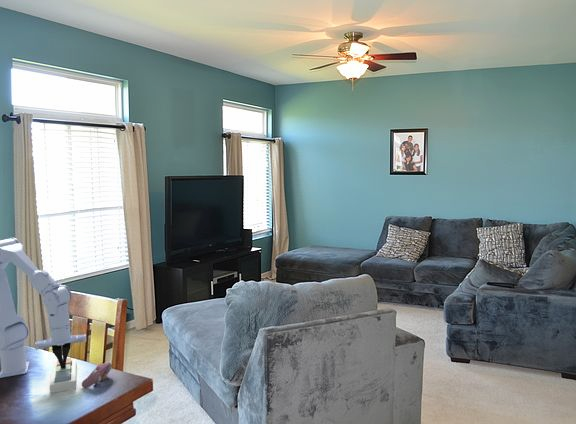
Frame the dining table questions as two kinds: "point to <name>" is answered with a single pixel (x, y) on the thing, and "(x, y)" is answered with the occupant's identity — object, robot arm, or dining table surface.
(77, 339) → the robot arm
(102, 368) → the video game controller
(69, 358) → the terracotta key
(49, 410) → the dining table surface
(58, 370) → the sage key
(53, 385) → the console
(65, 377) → the slate key
